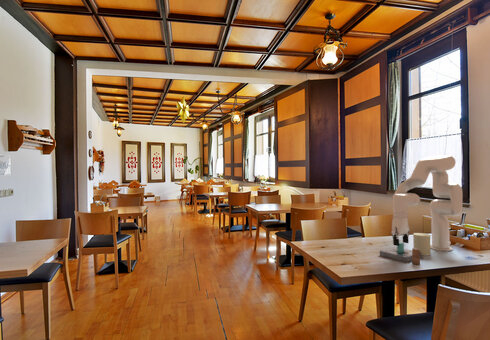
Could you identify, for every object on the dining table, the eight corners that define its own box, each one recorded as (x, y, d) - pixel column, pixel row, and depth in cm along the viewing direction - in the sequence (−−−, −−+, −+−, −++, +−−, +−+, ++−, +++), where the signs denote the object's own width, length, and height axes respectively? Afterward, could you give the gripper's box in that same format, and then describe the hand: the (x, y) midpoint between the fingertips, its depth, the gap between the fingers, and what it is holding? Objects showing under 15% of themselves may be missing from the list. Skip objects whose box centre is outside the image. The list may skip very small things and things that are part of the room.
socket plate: (395, 251, 181) (395, 246, 181) (421, 257, 167) (421, 252, 167) (379, 255, 172) (379, 250, 172) (406, 262, 159) (406, 257, 159)
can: (422, 256, 171) (422, 235, 171) (409, 251, 180) (409, 232, 180) (434, 254, 173) (434, 234, 174) (421, 250, 182) (421, 231, 182)
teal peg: (399, 255, 172) (399, 242, 172) (405, 257, 169) (405, 243, 169) (395, 256, 170) (395, 243, 170) (401, 258, 167) (401, 244, 167)
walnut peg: (414, 262, 159) (414, 248, 159) (421, 264, 156) (421, 249, 156) (411, 263, 157) (411, 249, 157) (417, 265, 154) (417, 250, 154)
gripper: (402, 212, 178) (402, 240, 178) (385, 215, 168) (386, 245, 169) (414, 214, 171) (415, 243, 171) (398, 217, 162) (398, 247, 162)
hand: (401, 244), depth 170 cm, fingers open, 9 cm apart
